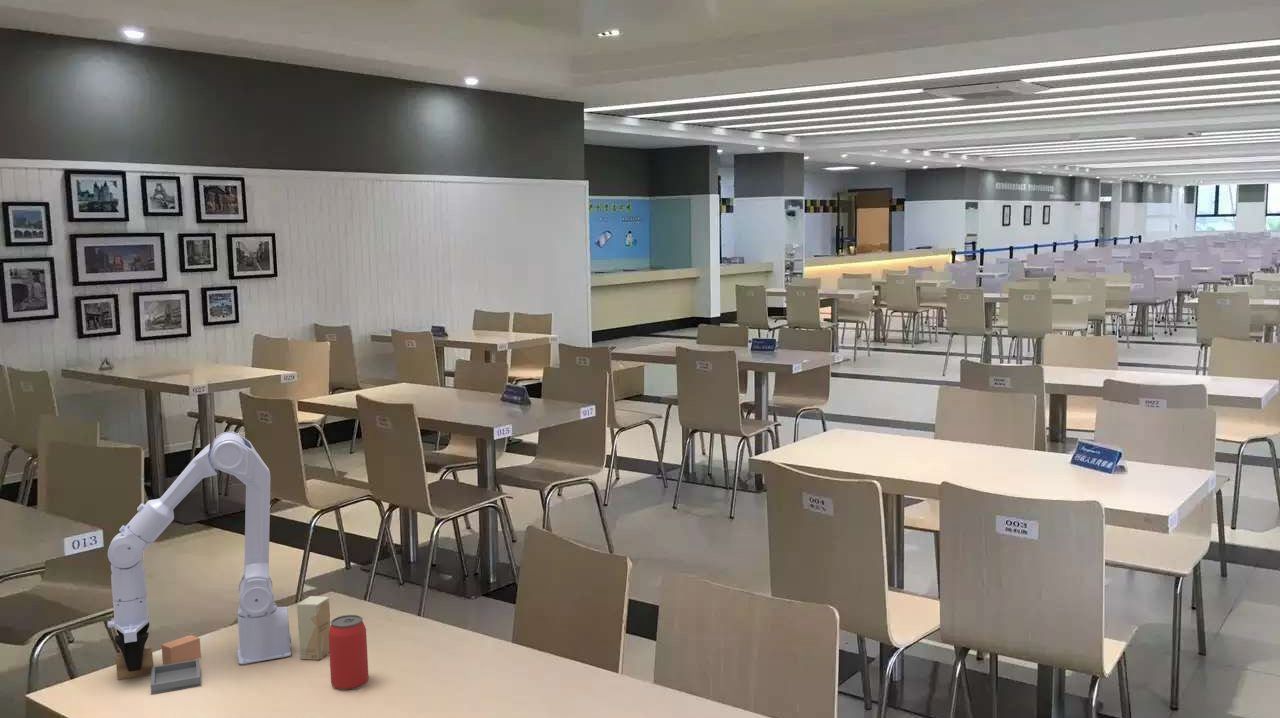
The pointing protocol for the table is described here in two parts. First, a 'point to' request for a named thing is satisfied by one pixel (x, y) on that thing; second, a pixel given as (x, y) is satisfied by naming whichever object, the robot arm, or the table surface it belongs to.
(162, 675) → the tray
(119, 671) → the walnut brick
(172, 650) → the terracotta brick
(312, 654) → the box
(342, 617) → the beer can
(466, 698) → the table surface
